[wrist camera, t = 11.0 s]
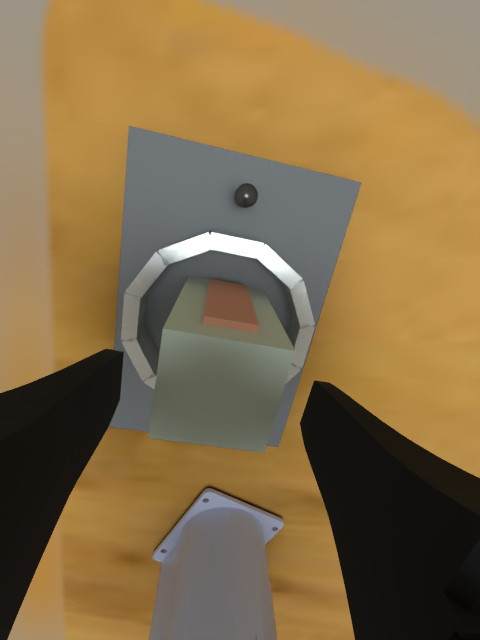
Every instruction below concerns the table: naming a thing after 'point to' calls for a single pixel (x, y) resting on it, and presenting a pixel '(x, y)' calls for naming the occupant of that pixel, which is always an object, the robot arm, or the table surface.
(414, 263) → the table surface
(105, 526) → the table surface
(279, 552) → the table surface
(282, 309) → the base board
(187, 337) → the pale green rectangular block
